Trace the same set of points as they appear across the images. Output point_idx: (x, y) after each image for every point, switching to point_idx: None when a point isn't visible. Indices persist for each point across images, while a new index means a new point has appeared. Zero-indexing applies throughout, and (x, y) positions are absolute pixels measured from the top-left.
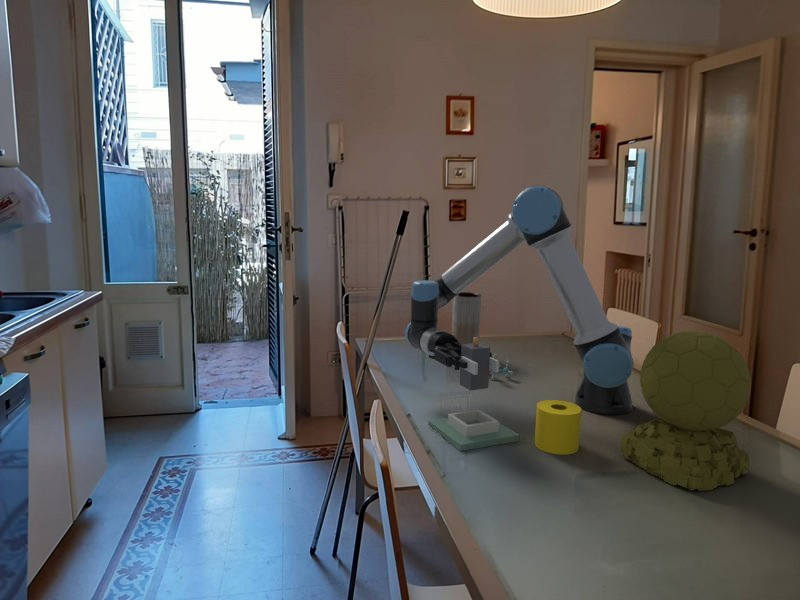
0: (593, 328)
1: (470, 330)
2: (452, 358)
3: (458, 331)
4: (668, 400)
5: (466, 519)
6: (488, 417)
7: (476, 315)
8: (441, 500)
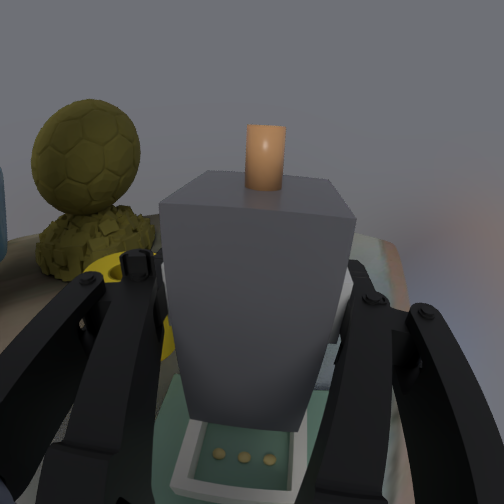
0: None
1: None
2: (401, 321)
3: None
4: (137, 164)
5: (388, 279)
6: (198, 426)
7: None
8: (406, 304)
